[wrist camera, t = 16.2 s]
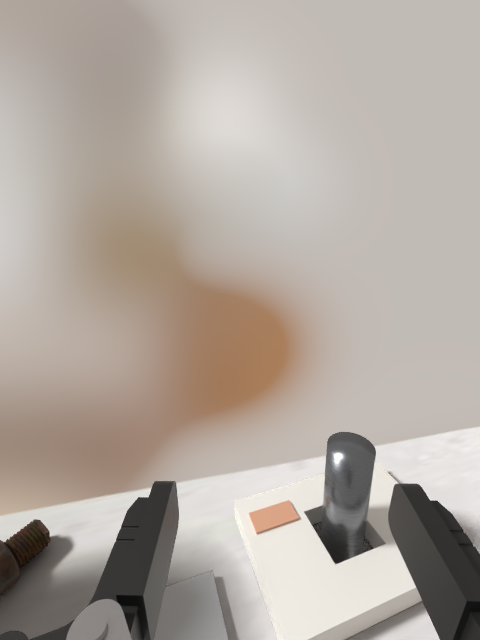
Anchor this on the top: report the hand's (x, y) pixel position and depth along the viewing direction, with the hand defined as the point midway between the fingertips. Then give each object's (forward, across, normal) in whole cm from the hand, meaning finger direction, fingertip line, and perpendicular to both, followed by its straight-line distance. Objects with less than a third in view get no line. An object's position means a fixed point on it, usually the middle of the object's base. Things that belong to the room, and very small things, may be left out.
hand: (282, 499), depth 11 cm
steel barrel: (+15, -9, +24) cm, 30 cm away
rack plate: (+15, -9, +24) cm, 30 cm away
